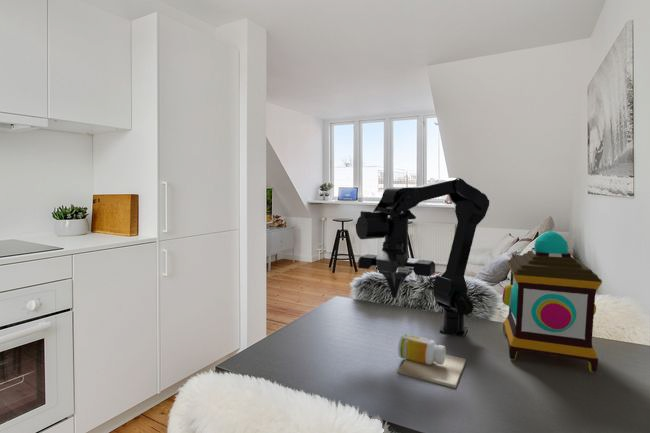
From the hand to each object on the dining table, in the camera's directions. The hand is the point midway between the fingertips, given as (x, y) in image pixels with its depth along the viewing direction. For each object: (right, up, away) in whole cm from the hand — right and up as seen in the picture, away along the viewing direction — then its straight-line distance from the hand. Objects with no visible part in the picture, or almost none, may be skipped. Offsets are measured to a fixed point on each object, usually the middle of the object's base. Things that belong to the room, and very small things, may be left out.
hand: (394, 297), depth 95 cm
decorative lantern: (+36, -13, -3) cm, 39 cm away
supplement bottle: (0, -9, -8) cm, 12 cm away
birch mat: (+6, -13, -12) cm, 19 cm away
